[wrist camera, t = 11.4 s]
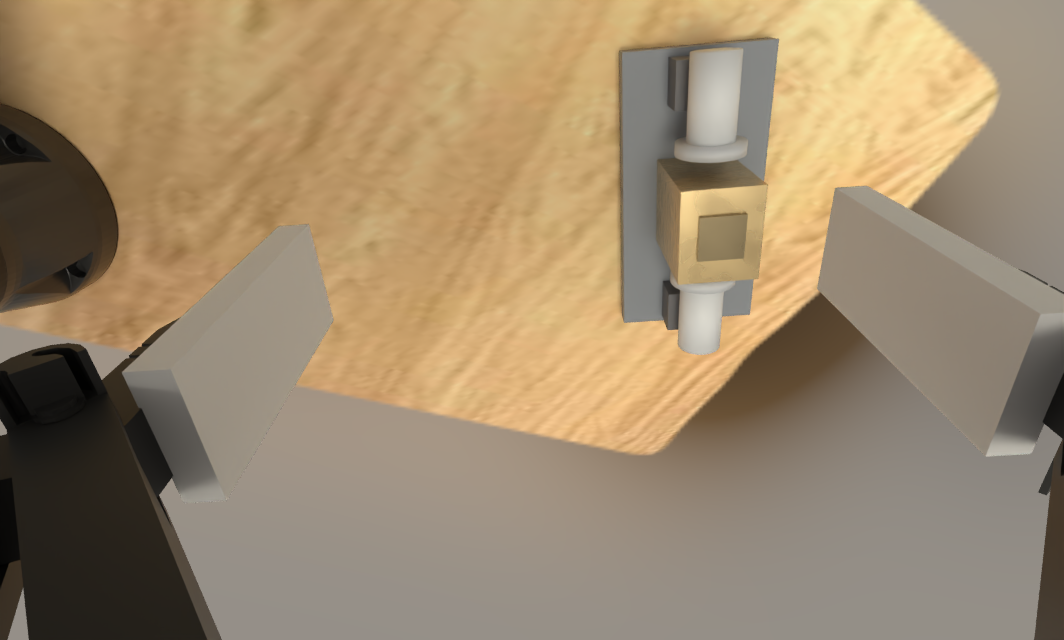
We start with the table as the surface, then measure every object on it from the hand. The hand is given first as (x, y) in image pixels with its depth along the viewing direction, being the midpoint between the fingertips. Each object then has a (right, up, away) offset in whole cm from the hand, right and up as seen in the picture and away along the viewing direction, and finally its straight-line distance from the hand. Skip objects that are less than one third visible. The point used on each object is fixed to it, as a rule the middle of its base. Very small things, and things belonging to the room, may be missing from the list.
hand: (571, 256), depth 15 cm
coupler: (+11, +7, +28) cm, 31 cm away
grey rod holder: (+11, +8, +29) cm, 32 cm away
